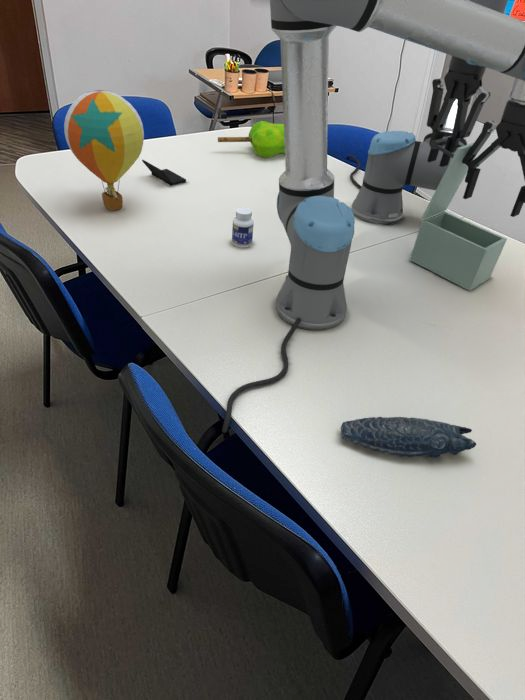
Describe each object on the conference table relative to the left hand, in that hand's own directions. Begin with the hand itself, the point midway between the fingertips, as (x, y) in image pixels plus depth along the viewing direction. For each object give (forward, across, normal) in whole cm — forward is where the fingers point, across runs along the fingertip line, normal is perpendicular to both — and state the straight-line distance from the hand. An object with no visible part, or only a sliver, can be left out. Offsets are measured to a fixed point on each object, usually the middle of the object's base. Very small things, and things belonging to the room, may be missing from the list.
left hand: (490, 206), depth 118 cm
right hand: (-5, +16, 0) cm, 17 cm away
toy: (+18, +81, +51) cm, 98 cm away
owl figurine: (+20, -23, +58) cm, 65 cm away
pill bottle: (+18, +45, +35) cm, 60 cm away
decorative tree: (+17, +96, -16) cm, 98 cm away
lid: (-2, +10, 0) cm, 11 cm away
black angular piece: (+18, +92, +28) cm, 97 cm away
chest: (+18, +5, 0) cm, 19 cm away
